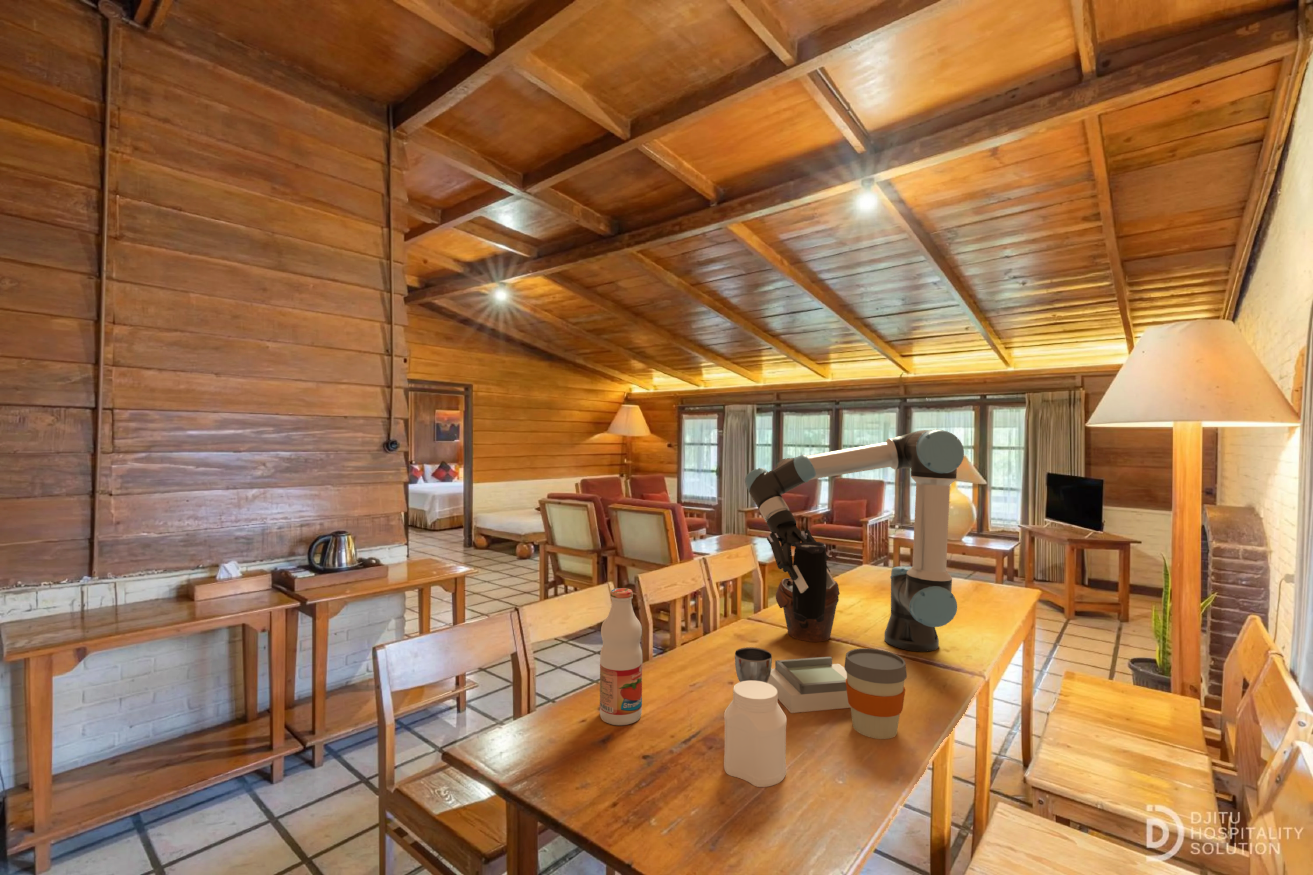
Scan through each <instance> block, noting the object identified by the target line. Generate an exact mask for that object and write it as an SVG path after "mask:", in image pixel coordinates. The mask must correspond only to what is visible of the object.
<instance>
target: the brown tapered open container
mask: <svg viewBox="0 0 1313 875" xmlns="http://www.w3.org/2000/svg"><path fill="white" fill-rule="evenodd" d="M835 582H836V583H835V584H834V585H833V586H832V587H831V588H829V589H828V588H827V586H826V601H825V612H824V620H823V621H822V622H817V621H816V619H806V620H805V621H804V622H802V621H799V620H797V619H795V618H794V613H793V596H792V588H793V580H792V579H791V577H784V578H782V579H781V580H780V582H779V584H778V586H777V590H776V592H775V600H776V603H777V605H778V607H779V609H783V613H784V619H785V625H786V628H787V633H788V636H790V637H792V638H793V639H796V640H800V641H804V642H809V643H810V642H812V643H813V642H814V643H819V642H820V643H821V642H826V641H828V640H830V638H831V635H832V629H833V625H834V619H835V616H836V615H835V614H836V612H837V605H838V603H839V601H840V599H839V598H840V597H839V596H840V594H841V593H840V588H839V584H838V581H836V580H835Z"/></svg>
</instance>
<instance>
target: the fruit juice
mask: <svg viewBox="0 0 1313 875" xmlns="http://www.w3.org/2000/svg"><path fill="white" fill-rule="evenodd" d="M633 595H634V593H633V590H632V589H630V588H625V587H620V588H619V587H617V588H614V589H611V590H610V599H611V605H610V610H609V612H608V615H607V617H606V618H605V619H604V621H603V622H602V624H601V628H600V637H601V639H602V640H601V641H602V647H601V649H600V652H599V653H600V654H599V655H600V656H599V716H600V718H601V720H602V721H603V722H605V723H606V724H609V725H612V726H627V725H632V724H634V723H636V722H638V721H639V720H640V719H641V716H642V714H643V650H642V647H641V643H640V641H641V638H642V634H643V630H642V628H643V627H642V624H641V622H640V620H639V619H638V618H637V616H636V614H635V612H634V608H633V604H632V599H633Z"/></svg>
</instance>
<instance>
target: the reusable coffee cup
mask: <svg viewBox="0 0 1313 875" xmlns="http://www.w3.org/2000/svg"><path fill="white" fill-rule="evenodd" d="M906 665H907V664H906V661H905V659H904V658H903V657H901V656H900V655H898V654H896V653H894V652H891V651H887V650H883V649H877V648H854V649H850V650H848V651H847V652H846V654H845V659H844V666H843V667H844V668H845V670H846V673H847V679H846V689H847V697H848V703H849V705H850V706H851V708H850V713H851V714H850V715H851V721H852V728H853V729H854V730H855V731H856V732H857V733H859V734H860V735H863V736H865V737H869V738H873V739H877V740H884V739H885V740H887V739H892V738H894V737H896V736H897V733H898V728H899V727H898V726H899V723H900V722H899V721H900V714H902V712H903V709H904V701H905V694H906V687H905V680H906V679H907V675H908V673H907V666H906Z"/></svg>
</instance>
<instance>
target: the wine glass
mask: <svg viewBox="0 0 1313 875" xmlns="http://www.w3.org/2000/svg"><path fill="white" fill-rule="evenodd" d="M772 660H773V655H772V653H771V652H770V651H769V650H767V649H764V648H760V647H752V646H751V647H750V646H749V647H741V648H738V649H736V650H735V652H734V662H735V663H734V666H735V673H736V676H737V680H738V682H742V681H750V680H753V681H762V682H766V683H767V682H768V680H769V678H770V673H771V669H772V664H773V662H772Z"/></svg>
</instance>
